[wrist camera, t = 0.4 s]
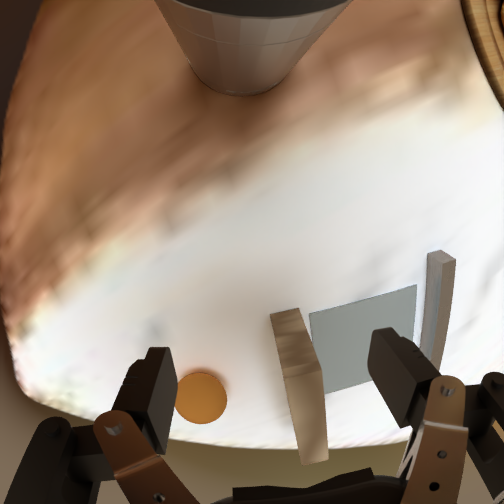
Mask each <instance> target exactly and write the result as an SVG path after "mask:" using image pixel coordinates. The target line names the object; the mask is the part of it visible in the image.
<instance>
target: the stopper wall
mask: <svg viewBox="0 0 504 504" xmlns="http://www.w3.org/2000/svg"><path fill="white" fill-rule="evenodd" d="M455 266H456V259H455V258H453V257H452V256H450V255H449V254H447V253H445V252H444V251H442V250H438V251H435V252H431V253H428V258H427V282H426V296H425V308H424V318H423V327H422V335H421V343H420V351H422V353H423V354H424V355H425V357H427V358H428V359H429V361H430V362H431V363H432V364H433V365H434V367H435V368H436V369H437V370H438V371H439V369H440V364H441V360H442V355H443V351H444V346H445V341H446V335H447V330H448V324H449V318H450V311H451V304H452V296H453V288H454V278H455Z"/></svg>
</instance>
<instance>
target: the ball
mask: <svg viewBox="0 0 504 504" xmlns="http://www.w3.org/2000/svg"><path fill="white" fill-rule="evenodd" d="M226 405H227V395H226V391H225V389H224V387H223V385H222V384H221V383H220V382H219V381H218V380H217V379H216V378H214V377H213V376H211V375H208V374H204V373H194V374H190V375H188V376H186V377H184V378H183V379H182V380H180V381H179V383H178V391H177V396H176V401H175V408H176V410H177V411H178V413H179V414H180V415H181V416H182V417H183V418H184V419H186V420H187V421H189V422H192V423H195V424H207V423H211V422H213V421H215V420H216V419H218V418H219V417H220V416H221V415H222V414H223V412H224V410H225V408H226Z"/></svg>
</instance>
